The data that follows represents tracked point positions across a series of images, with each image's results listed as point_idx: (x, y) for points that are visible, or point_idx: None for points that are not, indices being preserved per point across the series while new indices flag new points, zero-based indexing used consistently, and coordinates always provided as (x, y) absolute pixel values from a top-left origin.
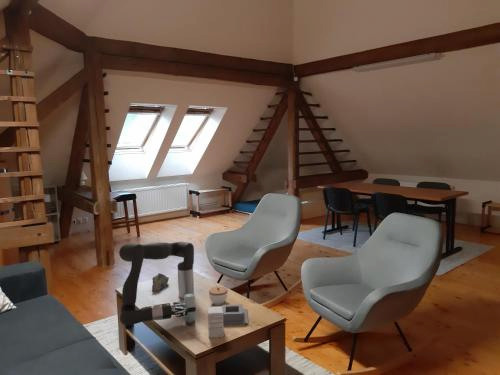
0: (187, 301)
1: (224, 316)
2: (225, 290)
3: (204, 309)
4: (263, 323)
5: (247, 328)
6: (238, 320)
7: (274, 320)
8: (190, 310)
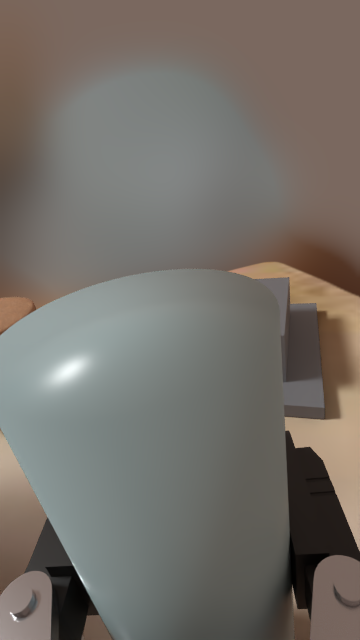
0: (279, 444)
1: (285, 340)
2: (15, 299)
3: (16, 474)
4: (307, 283)
5: (356, 313)
6: (289, 323)
7: (285, 268)
8: (346, 532)
